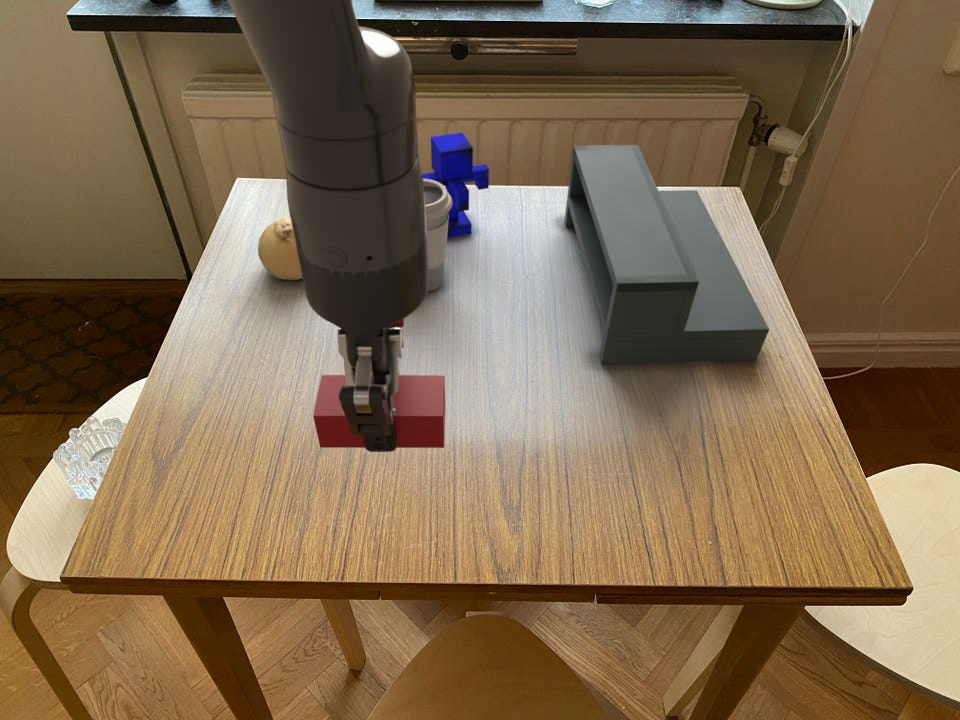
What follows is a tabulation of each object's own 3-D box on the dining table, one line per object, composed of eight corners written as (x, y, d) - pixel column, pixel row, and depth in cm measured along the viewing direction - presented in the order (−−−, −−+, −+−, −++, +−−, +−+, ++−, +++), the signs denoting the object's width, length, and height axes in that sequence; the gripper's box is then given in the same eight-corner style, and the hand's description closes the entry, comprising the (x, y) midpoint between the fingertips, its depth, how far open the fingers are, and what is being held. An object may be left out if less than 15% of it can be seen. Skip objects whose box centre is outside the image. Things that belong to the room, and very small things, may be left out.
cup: (452, 262, 87) (451, 175, 79) (454, 297, 83) (453, 208, 74) (394, 263, 87) (387, 176, 78) (392, 298, 82) (385, 209, 74)
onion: (254, 260, 87) (241, 210, 82) (315, 242, 90) (307, 193, 85) (276, 296, 82) (264, 246, 77) (340, 276, 85) (332, 226, 80)
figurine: (412, 234, 91) (408, 148, 83) (440, 205, 96) (438, 122, 88) (465, 250, 89) (465, 163, 81) (490, 220, 94) (493, 135, 86)
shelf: (756, 360, 76) (790, 279, 68) (601, 364, 75) (617, 283, 67) (689, 219, 95) (709, 143, 88) (564, 221, 94) (573, 145, 87)
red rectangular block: (445, 407, 54) (444, 375, 52) (444, 448, 51) (443, 416, 49) (327, 406, 54) (321, 374, 52) (320, 447, 51) (312, 416, 49)
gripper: (420, 309, 36) (431, 504, 48) (431, 166, 46) (437, 356, 58) (270, 308, 35) (319, 504, 47) (314, 165, 46) (345, 356, 58)
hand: (384, 422), depth 52 cm, fingers closed on red rectangular block, 4 cm apart
